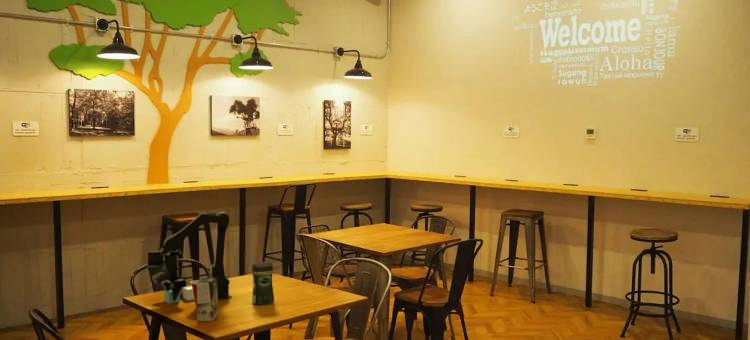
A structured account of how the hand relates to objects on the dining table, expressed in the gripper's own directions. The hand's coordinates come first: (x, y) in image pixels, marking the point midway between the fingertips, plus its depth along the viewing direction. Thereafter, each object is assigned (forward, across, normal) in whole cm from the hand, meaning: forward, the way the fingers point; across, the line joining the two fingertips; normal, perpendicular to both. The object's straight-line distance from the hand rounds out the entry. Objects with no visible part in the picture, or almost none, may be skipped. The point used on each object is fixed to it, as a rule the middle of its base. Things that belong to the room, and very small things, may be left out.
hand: (172, 299), depth 309 cm
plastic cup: (+1, +19, +6) cm, 20 cm away
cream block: (+1, 0, +9) cm, 9 cm away
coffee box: (+1, +35, 0) cm, 35 cm away
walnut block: (+1, -7, +7) cm, 10 cm away
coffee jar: (+1, +29, +30) cm, 42 cm away
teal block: (+1, 0, 0) cm, 1 cm away
